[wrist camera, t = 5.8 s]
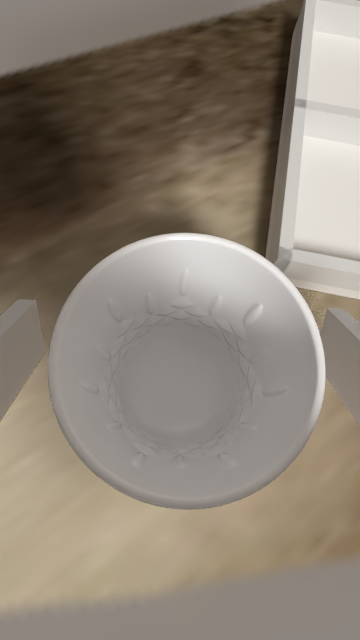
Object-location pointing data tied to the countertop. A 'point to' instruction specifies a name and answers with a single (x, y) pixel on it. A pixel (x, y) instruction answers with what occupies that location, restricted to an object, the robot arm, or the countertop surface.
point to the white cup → (186, 371)
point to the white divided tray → (320, 154)
